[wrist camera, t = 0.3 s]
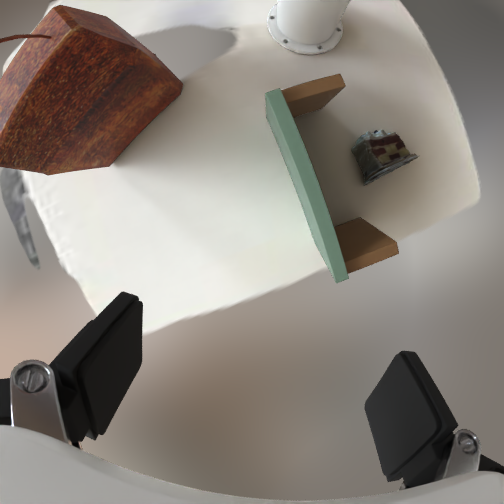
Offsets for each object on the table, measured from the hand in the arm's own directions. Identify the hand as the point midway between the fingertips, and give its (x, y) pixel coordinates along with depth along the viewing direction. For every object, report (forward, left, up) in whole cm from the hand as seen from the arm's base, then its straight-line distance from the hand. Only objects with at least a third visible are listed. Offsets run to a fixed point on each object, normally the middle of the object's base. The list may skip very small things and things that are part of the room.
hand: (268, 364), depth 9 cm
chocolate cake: (-2, +21, -37) cm, 42 cm away
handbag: (-25, -15, -37) cm, 47 cm away
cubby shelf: (-2, +10, -37) cm, 38 cm away
